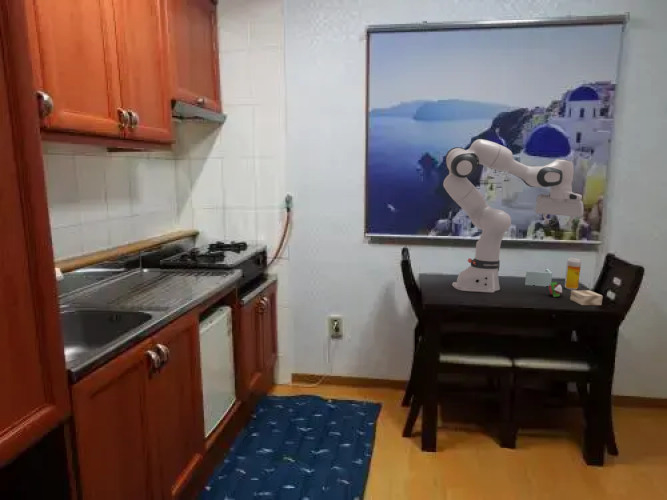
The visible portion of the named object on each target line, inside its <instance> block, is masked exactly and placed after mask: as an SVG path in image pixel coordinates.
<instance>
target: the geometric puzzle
mask: <svg viewBox="0 0 667 500" xmlns="http://www.w3.org/2000/svg"><path fill="white" fill-rule="evenodd" d="M550 283H551V286H550V285H549V286H548V287H547V288H546V292H548V293H549V295H550V296H553V298H554V297H557V298H558V297H561V294H563V291H564V289H565V288H564V286H563V285H561V283H558V281H551V282H550ZM548 289H549V290H548Z"/></svg>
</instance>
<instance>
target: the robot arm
mask: <svg viewBox="0 0 667 500" xmlns="http://www.w3.org/2000/svg"><path fill="white" fill-rule="evenodd" d="M480 165H482V166H484V167H486V168H489V169H492V170H495V171H498V172H499V171H501V172H506V173H508V174H510V175H513V176H515V177H517V178H519V179H521V180H522V182H523V183H524V184H525V185H526V186H527V187H531V188H550V193H549V194H547V193H546V194H543V193H541V194H539V195H537V197H536V205H535V210H534V211H535V213H536V214H541V215H542V217H543V219H544V224H545V225H549V223H550V219H547V217H548V215H553V216H554V215H555V216H566V217H569V219H570V220H569V221H566V226H567V227H571V225H572V222H573V220H574V219H575V217H578V218H579V217H582V216H583V215H584V203H583V201H582V199H583V195H582V194H580V193H576V192H574V191H573V186H572V184H573V180H574V172H575V171H574V163H573V162H572V161H571V160H569V159H562V158H557V159H555V160H554V161H552V162H551V163H548V164H545V165H540V166H539V165H538V166H537V165H530V166H529V165H526V164H524V163H521V162H519V161H517V160H515V159H514V154H513V152H512V150H510V149H509V148H507V147H506V146H504V145H501V144H499V143H498V142H494V141H491V140H488V139H482V138H478V139H476V140H474V141H473V142H472V143H471V145H470V147H469V148H468V149H465V148H463V147H460V146H459V147H458V146H454V147H452V148H450V149H449V150H448V151H447V153H446V155H445V166H446V171H447V172H448V175H446V177H445V178H444V180H443V184H442V186H443V188H444V189H445V191H446V193H447V194H448V195H449V196H450V197H451V199H452V200H453V201H454V202H455V203H456V204H457V205H458V206H459V207H460V208H461V209H462V211H464V212H465V213H466V215H467V216H468V218H469V219H470V221H471V223H472V225H473V226H475V227H476V228H477V229H479V230H482V231H481V234H480V237H479V239H478V240H477V241H476V244H475V256H474V258H473V259H472V258H468V259H467V263H469V264H470V265H469V266H468V267H467V268H465V269H463V270H461V272H459V274H458V276H457V279H456V281H453V282H452V287H453V288H454V289H456V290H458V291H463V292H480V293H495V292H497V291H499V290H501V287H500V283H499V272H500V267H501V266H500V262H501V261H500V252H501V245H502V244H501V243H502V240H503V239H504V236H505V233H506V232H507V231H508V230H509V229H510V228H511V225H512V218H511V216H510V214H509V213H507V212H505V210H502V209H498V208H493V207H491V206H490V205H489V204H488V203H487V202H486V200H485V197H484V195H483V193H482V192H481V191H479V189H478V188H477V187H476V186H475V185H474V184H473V183H472V181H470V180H469V179H468V177H469V176H471V175H472V174H473V173H474V171H475V170H476V169H477V168H478V167H480Z"/></svg>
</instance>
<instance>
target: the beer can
mask: <svg viewBox="0 0 667 500" xmlns="http://www.w3.org/2000/svg"><path fill="white" fill-rule="evenodd" d="M581 266H582V261H581V259H580V258H575V257H568V259H567V261H566V271H565V279H564V287H565V288H564V289H566V290H570V291H571V290H577V289H579V284H580V283H579V282H580V276H581V275H580V274H581Z"/></svg>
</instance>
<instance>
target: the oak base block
mask: <svg viewBox="0 0 667 500" xmlns="http://www.w3.org/2000/svg"><path fill="white" fill-rule="evenodd" d="M603 297H604V296H603V295H602V294H600V293H597V292H595V291H592V290H589V289H588V290H583V289H582V290H570V298H569V299H570V301H572V302H575V303H577V304H579V305H581V306H602V303H603Z"/></svg>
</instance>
